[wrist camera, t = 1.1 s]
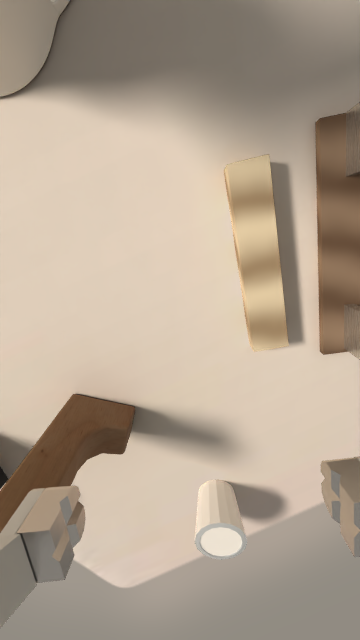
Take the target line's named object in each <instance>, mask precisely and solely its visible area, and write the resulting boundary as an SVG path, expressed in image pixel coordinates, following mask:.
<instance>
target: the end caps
mask: <svg viewBox="0 0 360 640" xmlns="http://www.w3.org/2000/svg"><path fill="white" fill-rule="evenodd" d="M359 173H360V102H359V103H358V104H357V105H355V106H354V107H353V108H352V109H350V110H349V111H348V112H347V113H346V176H351V175H356V174H359ZM344 349H346V350H347V351H348V352H350V353H351V354H352V355H354V356H355V357H357V358H358V359H359V360H360V306H358V305H356V304H347V305H344Z"/></svg>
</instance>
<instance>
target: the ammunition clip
mask: <svg viewBox="0 0 360 640" xmlns="http://www.w3.org/2000/svg"><path fill="white" fill-rule="evenodd" d="M7 480H8V478H7V476H6V475H5V473H4V472H3V470H2V468H1V467H0V489H1V488H2V486H3V485H4V484H5V483H6V481H7Z"/></svg>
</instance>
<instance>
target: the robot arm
mask: <svg viewBox="0 0 360 640" xmlns="http://www.w3.org/2000/svg"><path fill="white" fill-rule="evenodd" d="M69 1H70V0H0V96H5V95H9V94H12V93H14V92H16V91H18V90H20V89H22V88H23V87H25V86H26V85H27V84H28V83H29V82H30V81H32V79H33V78H34V77H35V76H36V75H37V74H38V72H39V71H40V69H41V68H42V66H43V64H44V62H45V60H46V58H47V56H48V53H49V51H50V48H51V44H52V40H53V36H54V31H55V27H56V23H57V20H58V18H59V16H60V14H61V13H62V12H63V10H64V9H65V7H66V6H67V4H68V3H69ZM321 473H322V474H323V476H324V477H325V479H324V480H323V482H322V483H321V486H322V494H323V498H324V502H325V505H326V507H327V509H328V511H329V513H330V515H331V517H332V518H333V519H334V520H335V521H337V522H338V523H340V528H341V535H342V536H343V538H344V540H345V542H346V543H347V545H348V547H349V549H350V550H351V552H352V554H353V556H354V557H360V457H354V458H344V459H335V460H326V461H322V462H321ZM79 497H80V492H79V488H78V487H77V486H63V487H49V488H40V489H33V490H31V491H30V492H29V493H28V494H27V496H26V497H25V498H24V500H23V501H22V503H21V504H20V506H19V507H18V508H17V510H16V511H15V513H14V514H13V516H12V517H11V519H10V520H9V521H8V523H7V524H6V526H5V527H4V529H3V530H2V531H1V533H0V628H1V627H2V626H3V624H4V623H5V622H6V621H7V620H8V619H9V617H10V616H11V615H12V614H13V613H14V611H15V610H16V609H17V608H18V607H19V606H20V604H21V603H22V602H23V601H24V600H25V598H26V597H27V596H28V595H29V594H30V593H31V591H32V590H33V589H34V588H35V587H36V585H37V584H36V583H42V582H50V581H59V580H65V578H66V575H67V573H68V570H69V568H70V565H71V562H72V560H73V557H74V552H73V547H74V546H75V545H76V544H77V543H78V542H79V541H80V539H81V537H82V534H83V531H84V525H85V510H84V506H83V505H82V504H81V503H80V502H78V499H79Z"/></svg>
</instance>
